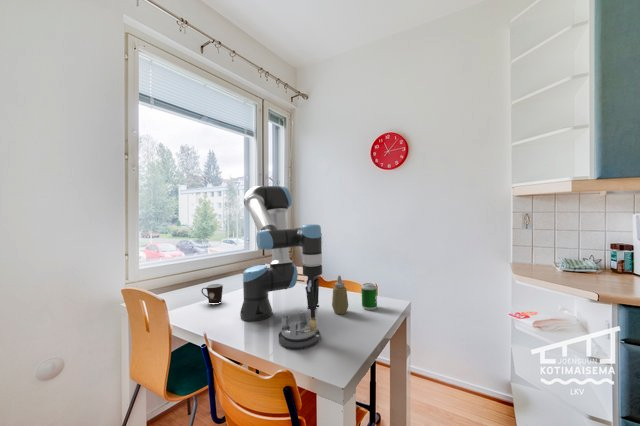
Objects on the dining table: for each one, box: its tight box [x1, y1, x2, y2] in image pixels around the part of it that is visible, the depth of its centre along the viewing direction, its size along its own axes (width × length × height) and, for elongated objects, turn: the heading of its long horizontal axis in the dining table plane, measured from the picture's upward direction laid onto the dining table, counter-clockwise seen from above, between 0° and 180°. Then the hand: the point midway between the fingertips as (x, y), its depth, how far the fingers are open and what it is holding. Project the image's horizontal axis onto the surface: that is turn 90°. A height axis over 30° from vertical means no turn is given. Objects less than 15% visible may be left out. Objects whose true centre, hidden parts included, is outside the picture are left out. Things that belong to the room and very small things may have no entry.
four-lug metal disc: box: [280, 310, 318, 342], centre depth 102 cm, size 14×14×6 cm
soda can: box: [360, 282, 378, 311], centre depth 132 cm, size 8×8×12 cm
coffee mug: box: [201, 283, 224, 304], centre depth 148 cm, size 12×9×10 cm
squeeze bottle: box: [331, 275, 349, 315], centre depth 128 cm, size 8×8×18 cm
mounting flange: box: [278, 328, 321, 351], centre depth 102 cm, size 16×16×2 cm
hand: (313, 324), depth 101 cm, fingers closed
